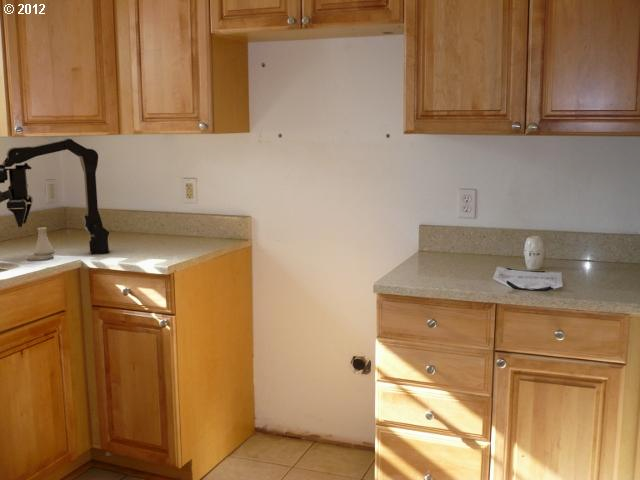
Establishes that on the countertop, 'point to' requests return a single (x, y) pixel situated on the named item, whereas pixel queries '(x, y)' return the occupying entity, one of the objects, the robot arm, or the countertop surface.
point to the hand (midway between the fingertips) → (22, 225)
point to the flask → (43, 243)
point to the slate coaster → (40, 257)
